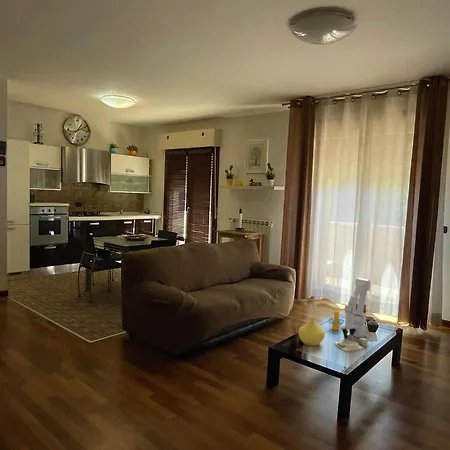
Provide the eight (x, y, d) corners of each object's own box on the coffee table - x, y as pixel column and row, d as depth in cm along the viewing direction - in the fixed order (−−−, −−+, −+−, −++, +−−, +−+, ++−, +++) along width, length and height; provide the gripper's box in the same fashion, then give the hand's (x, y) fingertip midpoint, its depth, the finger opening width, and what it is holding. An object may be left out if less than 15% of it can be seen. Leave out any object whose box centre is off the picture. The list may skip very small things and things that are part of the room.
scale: (352, 342, 284) (352, 339, 284) (363, 349, 272) (363, 346, 271) (334, 343, 280) (334, 340, 280) (344, 351, 267) (344, 347, 267)
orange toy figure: (341, 327, 316) (343, 309, 315) (344, 332, 306) (345, 313, 304) (326, 326, 317) (327, 308, 316) (328, 330, 307) (330, 312, 305)
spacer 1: (348, 339, 291) (349, 332, 290) (351, 341, 287) (352, 334, 286) (344, 339, 290) (344, 333, 289) (347, 341, 286) (347, 335, 285)
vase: (305, 336, 292) (306, 311, 291) (328, 343, 281) (329, 317, 279) (293, 343, 278) (294, 317, 276) (316, 350, 266) (318, 323, 265)
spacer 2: (363, 344, 282) (364, 337, 281) (367, 346, 278) (367, 339, 277) (358, 344, 280) (359, 338, 280) (362, 346, 277) (362, 340, 276)
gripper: (354, 318, 293) (353, 335, 294) (337, 319, 289) (336, 337, 290) (360, 321, 286) (358, 339, 287) (343, 322, 282) (341, 340, 283)
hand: (348, 338), depth 288 cm, fingers open, 4 cm apart
